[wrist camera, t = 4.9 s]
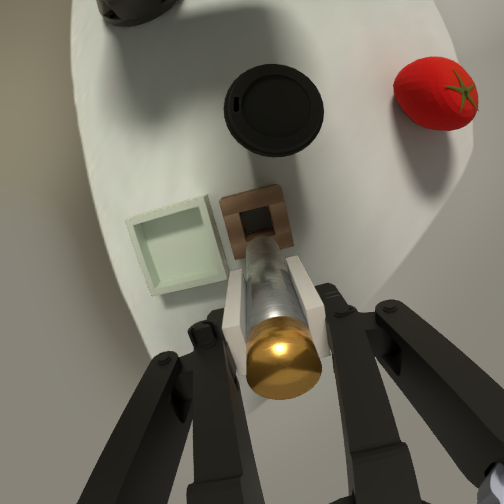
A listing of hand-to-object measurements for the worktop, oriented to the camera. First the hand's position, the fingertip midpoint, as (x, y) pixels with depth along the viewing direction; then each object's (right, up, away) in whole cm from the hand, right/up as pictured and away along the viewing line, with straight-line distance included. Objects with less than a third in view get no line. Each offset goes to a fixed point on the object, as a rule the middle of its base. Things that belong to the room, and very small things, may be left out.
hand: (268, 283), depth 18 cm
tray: (-12, +3, +25) cm, 27 cm away
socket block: (0, +7, +24) cm, 25 cm away
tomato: (+26, +27, +18) cm, 41 cm away
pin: (0, +2, +6) cm, 7 cm away
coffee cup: (+1, +20, +20) cm, 28 cm away
